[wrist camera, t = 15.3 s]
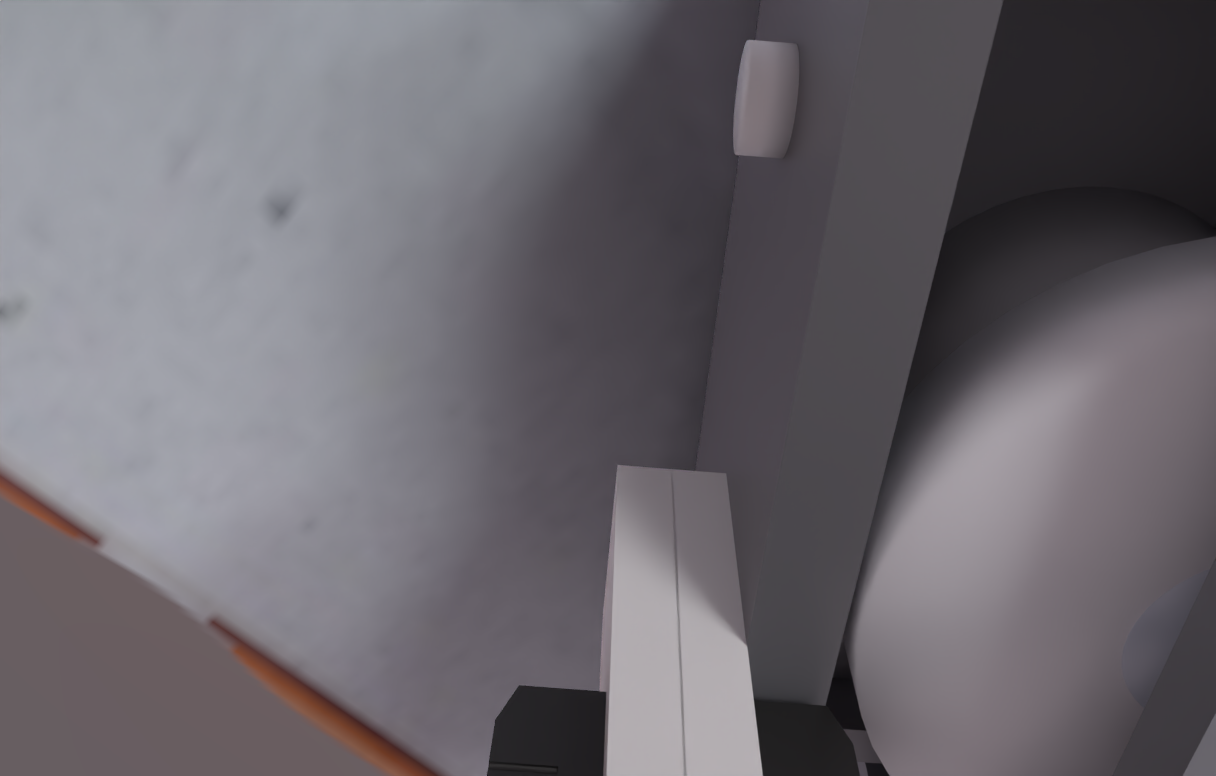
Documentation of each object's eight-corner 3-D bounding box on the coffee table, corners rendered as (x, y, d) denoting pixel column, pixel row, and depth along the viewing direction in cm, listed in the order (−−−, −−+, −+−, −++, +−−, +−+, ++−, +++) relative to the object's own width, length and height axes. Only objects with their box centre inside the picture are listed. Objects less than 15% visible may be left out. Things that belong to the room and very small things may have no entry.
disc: (923, 191, 10) (973, 261, 9) (1706, 272, 11) (1879, 353, 9) (777, 745, 14) (792, 856, 13) (1345, 794, 15) (1423, 908, 13)
